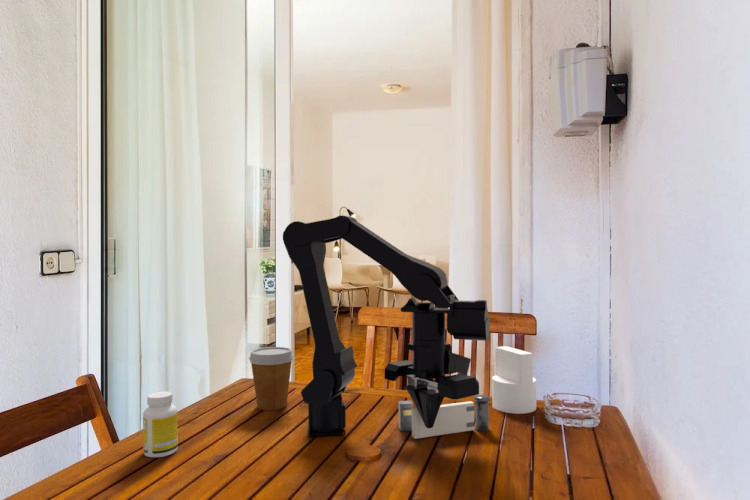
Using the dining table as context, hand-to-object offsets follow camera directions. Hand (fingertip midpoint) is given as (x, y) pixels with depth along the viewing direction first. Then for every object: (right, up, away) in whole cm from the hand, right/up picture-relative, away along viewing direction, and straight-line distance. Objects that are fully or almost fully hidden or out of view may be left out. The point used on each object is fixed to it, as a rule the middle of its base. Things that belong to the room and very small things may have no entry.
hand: (429, 427), depth 93 cm
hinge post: (+10, -2, +6) cm, 12 cm away
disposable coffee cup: (-32, -3, +22) cm, 39 cm away
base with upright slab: (+20, -2, +20) cm, 28 cm away
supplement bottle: (-46, -4, -3) cm, 46 cm away
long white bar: (+3, -2, +4) cm, 5 cm away
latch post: (-4, -3, +7) cm, 8 cm away
